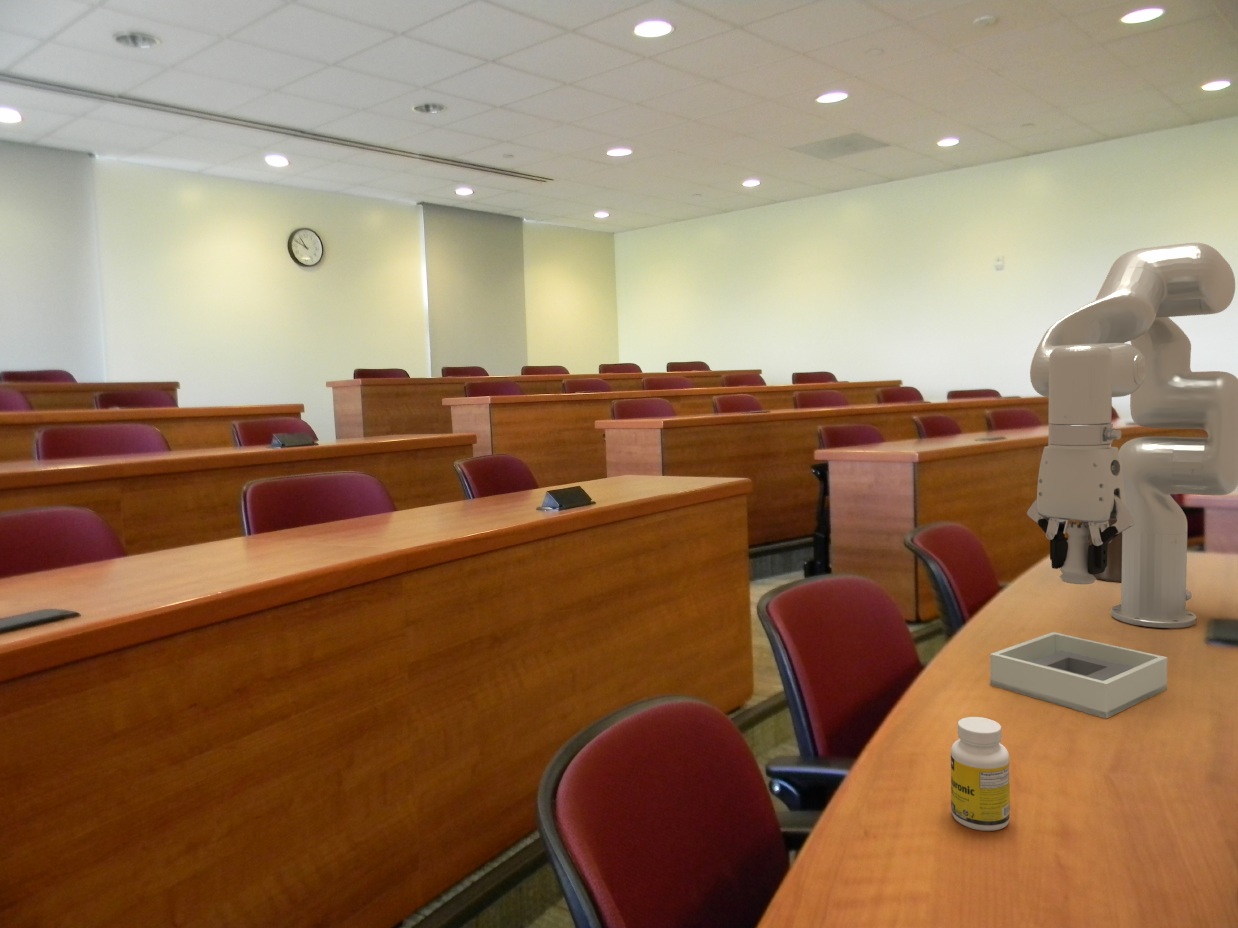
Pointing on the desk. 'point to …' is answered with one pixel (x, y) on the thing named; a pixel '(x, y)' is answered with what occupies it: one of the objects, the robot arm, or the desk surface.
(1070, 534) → the rook chess piece
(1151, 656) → the box
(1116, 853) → the desk surface
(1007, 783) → the supplement bottle
